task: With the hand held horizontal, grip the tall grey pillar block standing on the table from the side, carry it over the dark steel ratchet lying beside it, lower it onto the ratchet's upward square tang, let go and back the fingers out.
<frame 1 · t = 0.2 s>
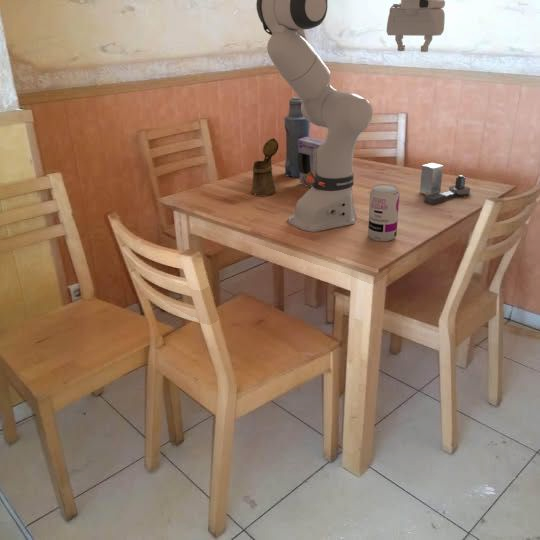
hand: (412, 51, 175), 48 cm above the table, tool pointing down, fingers open, 8 cm apart
ratchet: (459, 193, 196), on the table
cake pan box: (317, 188, 207), on the table
supplement can: (382, 237, 164), on the table
tall grey pillar block: (429, 192, 198), on the table
wooden mug: (266, 191, 207), on the table
bottle: (297, 174, 224), on the table
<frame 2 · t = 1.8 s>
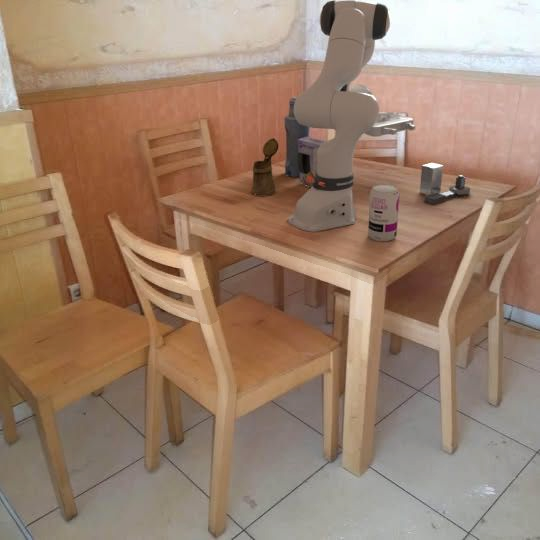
hand: (404, 130, 200), 20 cm above the table, tool horizontal, fingers open, 8 cm apart
nothing on the table moved.
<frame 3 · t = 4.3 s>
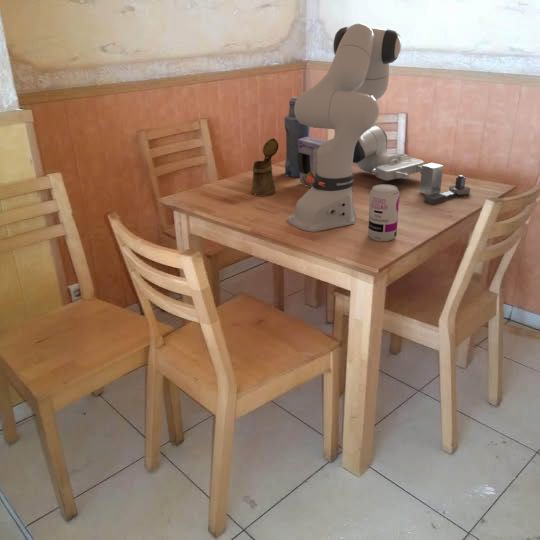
hand: (416, 174, 200), 5 cm above the table, tool horizontal, fingers open, 8 cm apart
nothing on the table moved.
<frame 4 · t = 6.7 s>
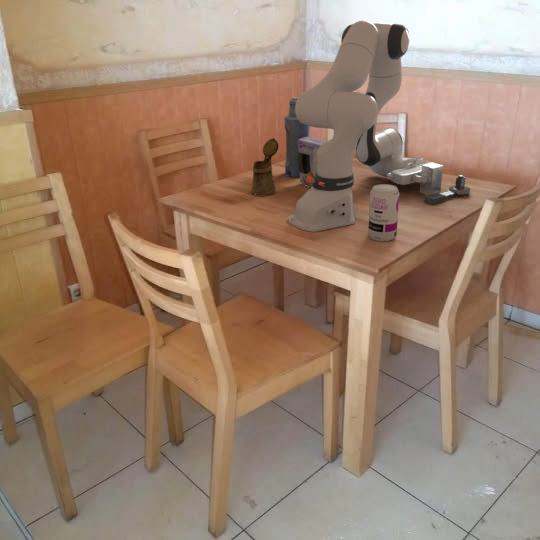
hand: (433, 178, 195), 6 cm above the table, tool horizontal, fingers closed on tall grey pillar block, 5 cm apart
tall grey pillar block: (429, 192, 198), on the table, touching gripper
everything else where it was.
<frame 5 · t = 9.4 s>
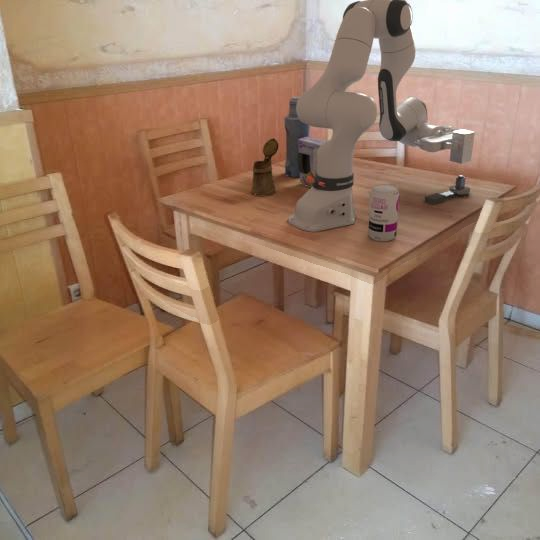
hand: (464, 145, 188), 17 cm above the table, tool horizontal, fingers closed on tall grey pillar block, 5 cm apart
tall grey pillar block: (460, 160, 191), point 12 cm above the table, touching gripper
everything else where it was.
when the fingers open (8 cm above the table, at t = 12.4 s): tall grey pillar block stays where it is, resting on ratchet.
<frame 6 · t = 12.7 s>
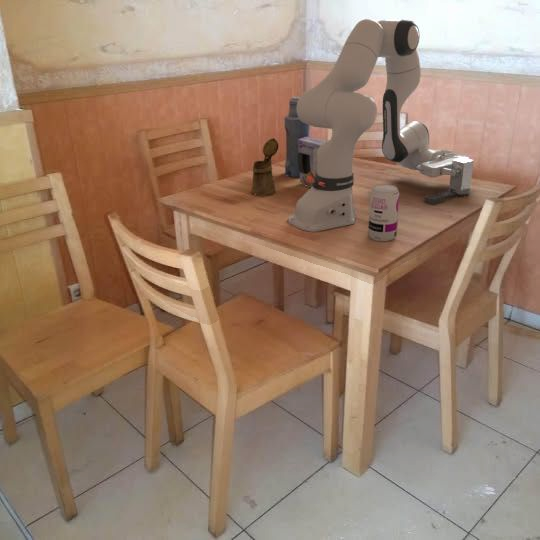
hand: (464, 170, 192), 8 cm above the table, tool horizontal, fingers open, 7 cm apart
tall grey pillar block: (459, 188, 195), point 2 cm above the table, touching ratchet
everything else where it was.
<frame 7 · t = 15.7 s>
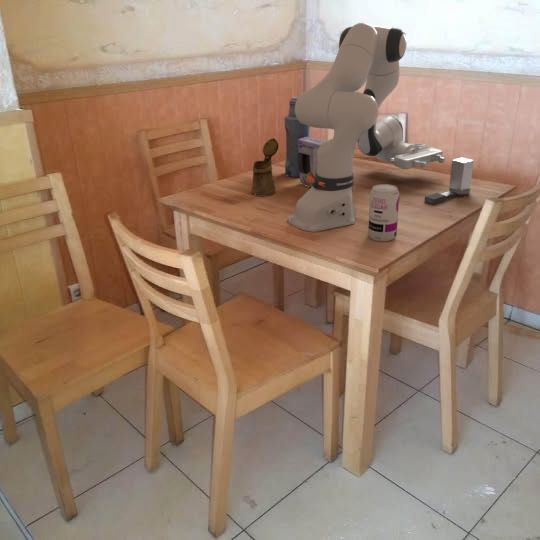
hand: (435, 163, 201), 9 cm above the table, tool horizontal, fingers open, 8 cm apart
nothing on the table moved.
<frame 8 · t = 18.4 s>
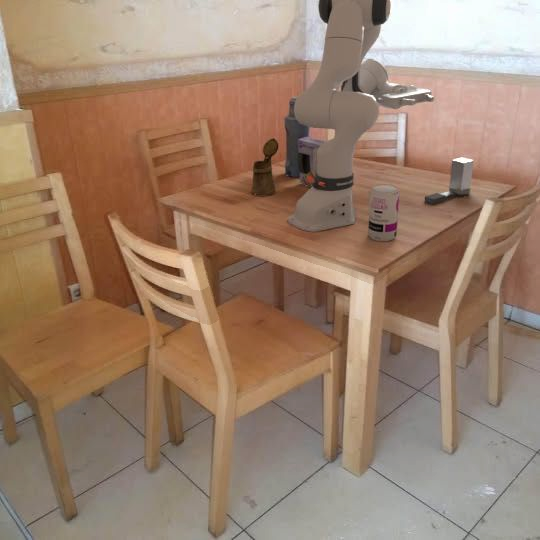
hand: (423, 101, 194), 30 cm above the table, tool horizontal, fingers open, 8 cm apart
nothing on the table moved.
at the end: tall grey pillar block 0.0 cm off-centre on the ratchet, point 2.0 cm above the ratchet's base; tall grey pillar block tilted 0°; the gripper is holding nothing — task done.
